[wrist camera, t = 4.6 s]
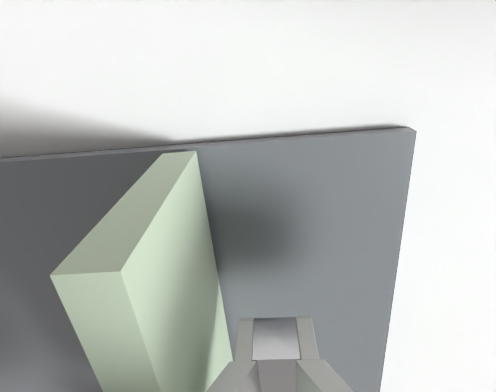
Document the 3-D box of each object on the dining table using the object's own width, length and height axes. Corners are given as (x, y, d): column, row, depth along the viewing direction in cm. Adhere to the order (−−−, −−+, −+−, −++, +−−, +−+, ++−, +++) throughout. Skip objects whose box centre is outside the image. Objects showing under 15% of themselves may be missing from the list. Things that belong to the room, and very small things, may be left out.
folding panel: (238, 390, 16) (225, 581, 11) (215, 391, 16) (190, 580, 11) (196, 150, 11) (120, 271, 5) (162, 153, 11) (49, 275, 5)
